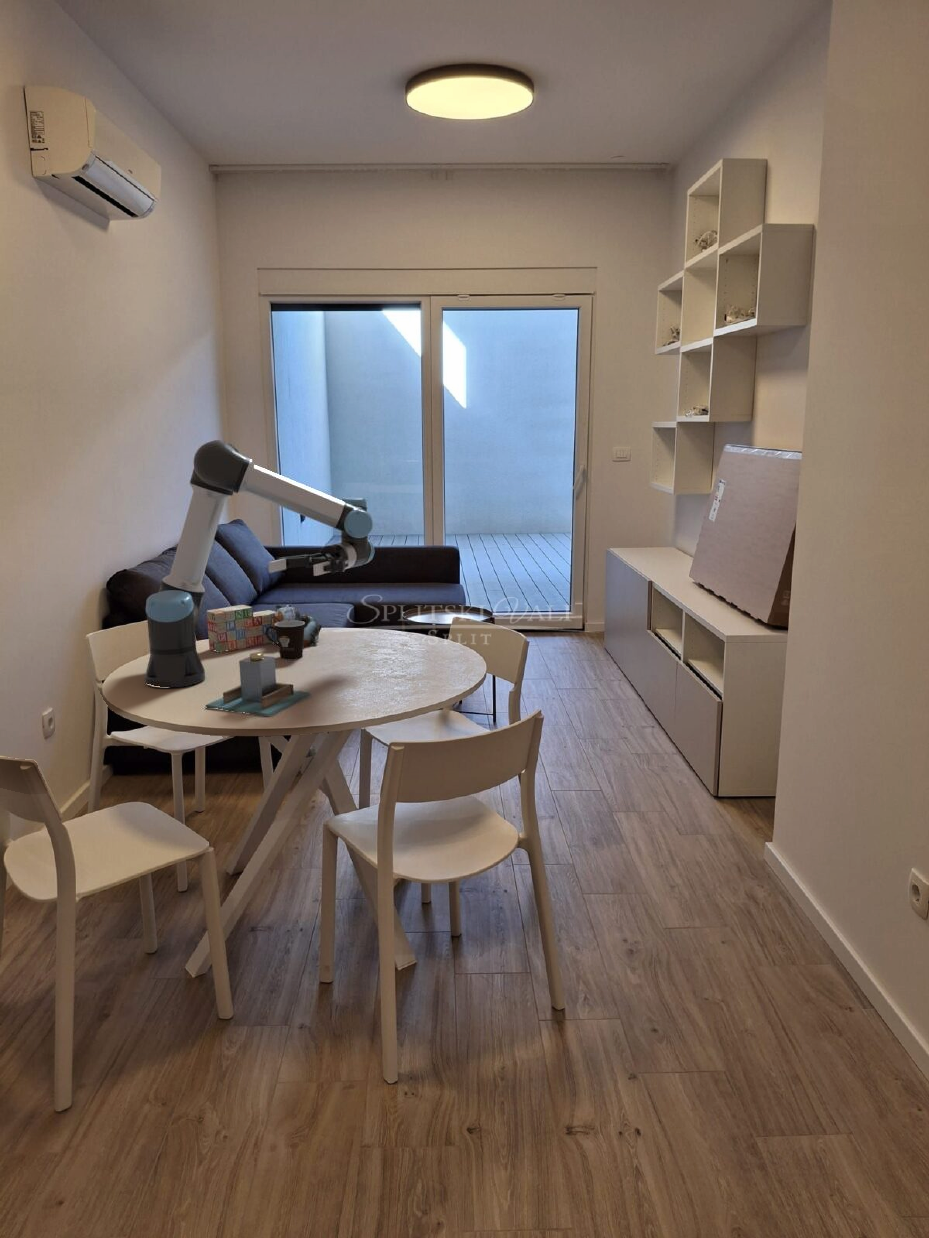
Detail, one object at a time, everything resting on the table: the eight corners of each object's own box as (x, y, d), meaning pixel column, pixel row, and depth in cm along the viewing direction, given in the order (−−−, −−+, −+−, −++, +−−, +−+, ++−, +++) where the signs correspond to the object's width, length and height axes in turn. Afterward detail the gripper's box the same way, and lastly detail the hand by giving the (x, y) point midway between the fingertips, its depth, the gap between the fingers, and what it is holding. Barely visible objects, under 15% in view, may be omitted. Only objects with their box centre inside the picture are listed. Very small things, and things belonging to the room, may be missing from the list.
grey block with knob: (241, 700, 212) (238, 655, 210) (256, 693, 218) (253, 650, 215) (262, 703, 210) (259, 658, 208) (276, 696, 216) (274, 652, 213)
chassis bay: (205, 708, 210) (204, 694, 209) (251, 687, 226) (250, 675, 225) (268, 716, 203) (267, 703, 202) (310, 695, 219) (310, 682, 218)
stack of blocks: (271, 638, 280) (268, 600, 277) (281, 641, 275) (279, 602, 273) (208, 649, 266) (205, 610, 263) (218, 653, 261) (215, 612, 259)
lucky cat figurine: (315, 647, 266) (291, 610, 261) (282, 660, 270) (258, 624, 265) (327, 623, 279) (305, 588, 274) (296, 636, 283) (273, 601, 278)
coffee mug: (312, 656, 257) (310, 623, 254) (288, 662, 250) (286, 628, 248) (288, 650, 264) (286, 617, 262) (264, 655, 258) (262, 622, 256)
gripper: (376, 573, 236) (334, 586, 217) (299, 568, 246) (252, 580, 227) (376, 546, 234) (333, 556, 215) (298, 542, 244) (250, 551, 225)
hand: (291, 568), depth 221 cm, fingers open, 13 cm apart
